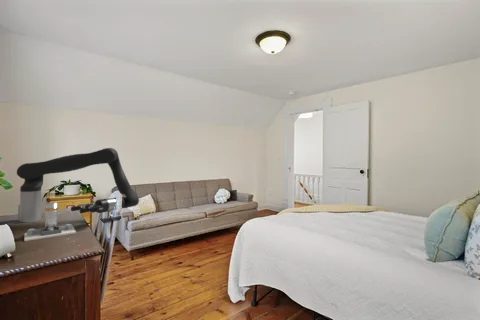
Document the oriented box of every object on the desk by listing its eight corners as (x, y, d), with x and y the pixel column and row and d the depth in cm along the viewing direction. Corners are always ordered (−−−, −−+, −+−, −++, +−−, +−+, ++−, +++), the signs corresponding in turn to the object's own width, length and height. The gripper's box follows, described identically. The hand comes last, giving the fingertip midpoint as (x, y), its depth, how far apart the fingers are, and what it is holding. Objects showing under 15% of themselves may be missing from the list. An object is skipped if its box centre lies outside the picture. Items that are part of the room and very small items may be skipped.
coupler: (42, 233, 116) (42, 204, 115) (50, 230, 120) (51, 202, 120) (51, 234, 115) (52, 204, 115) (59, 231, 120) (60, 202, 120)
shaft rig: (24, 241, 107) (24, 234, 107) (24, 235, 115) (24, 228, 115) (76, 233, 120) (76, 227, 120) (72, 228, 128) (73, 222, 128)
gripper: (98, 197, 145) (68, 201, 131) (113, 200, 138) (83, 204, 124) (98, 210, 145) (68, 215, 131) (113, 213, 138) (83, 219, 124)
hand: (75, 210), depth 127 cm, fingers open, 8 cm apart
